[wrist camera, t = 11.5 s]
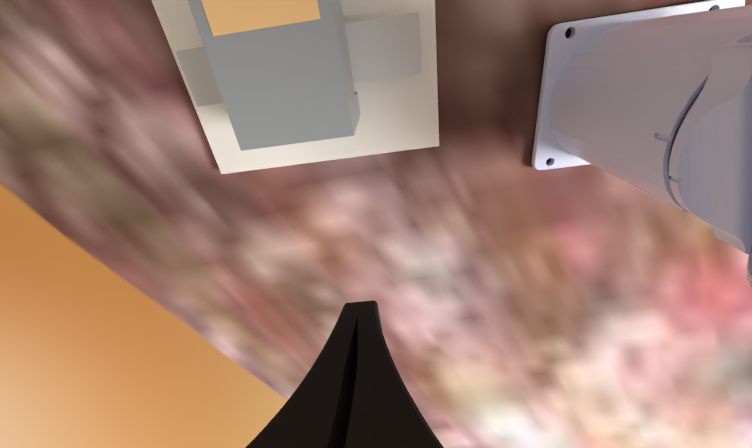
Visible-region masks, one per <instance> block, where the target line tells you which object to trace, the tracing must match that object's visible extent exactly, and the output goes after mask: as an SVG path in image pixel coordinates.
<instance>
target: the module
mask: <svg viewBox="0 0 752 448" xmlns="http://www.w3.org/2000/svg"><path fill="white" fill-rule="evenodd" d="M187 1H188V3H189V6H190V9H191V12H192V15H193V17H194V20H195V23H196V26H197V29H198V32H199V34H200V37H201V40H202V43H203V46H204V48H205V51H206V54H207V57H208V60H209V62H210V65H211V68H212V71H213V74H214V77H215V79H216V82H217V85H218V88H219V91H220V93H221V96H222V99H223V102H224V105H225V107H226V110H227V113H228V116H229V119H230V122H231V124H232V127H233V130H234V133H235V136H236V138H237V141H238V144H239V147H240V150H241V151H244V150H251V149H258V148H266V147H273V146H281V145H288V144H296V143H303V142H311V141H318V140H326V139H333V138H341V137H348V136H354V134H355V131H356V128H357V124H358V121H359V118H360V114H361V113H360V106H359V100H358V93H357V92H355V91H354V84H353V78H352V71H351V65H350V58H349V52H348V45H347V39H346V32H345V26H344V19H343V13H342V6H341V0H187Z"/></svg>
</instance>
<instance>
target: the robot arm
mask: <svg viewBox="0 0 752 448" xmlns="http://www.w3.org/2000/svg"><path fill="white" fill-rule="evenodd" d="M710 8H712V10H710V11H709V9H710ZM568 28H570V29H571V35H570V36H569V37H568V38H566V37H565V32H566V30H567V29H568ZM549 158H551V162H550V163H548V164H546V161H547V160H548V159H549ZM588 164H593V165H595V166H597V167H599V168H601V169H602V170H604V171H606V172H608V173H610V174H612V175H614V176H616V177H618V178H620V179H622V180H624V181H626V182H628V183H630V184H632V185H634V186H636V187H638V188H640V189H642V190H644V191H646V192H648V193H650V194H652V195H654V196H656V197H658V198H660V199H662V200H664V201H666V202H668V203H670V204H672V205H674V206H676V207H678V208H680V209H682V210H684V211H686V212H688V213H690V214H692V215H694V216H696V217H698V218H699V219H701V220H703V221H705V222H707V223H709V224H710V225H711V227H712V228H713V231H714V236H715V237H716V238H718V239H720V240H722V241H724V242H726V243H728V244H730V245H731V246H733V247H735V248H737V249H739V250H741V251H743V252H744V253H746V254H749V257H748V263H747V277H748V281H749V283H750V285H751V287H752V5H747V6H745V0H708V1H702V2H695V3H689V4H682V5H676V6H669V7H663V8H656V9H650V10H643V11H637V12H630V13H624V14H617V15H611V16H604V17H598V18H591V19H585V20H578V21H572V22H565V23H559V24H556V25H554V26H553V27H552V28H551V29H550V30H549V32H548V36H547V43H546V51H545V59H544V67H543V75H542V83H541V91H540V99H539V107H538V115H537V123H536V131H535V139H534V147H533V155H532V166H533V167H534V168H535V169H537V170H546V169H555V168H563V167H571V166H580V165H588ZM246 448H444V447H443V446H442V445H441V443H440V442H439V440H438V439H437V437H436V436H435V434H434V433H433V432H432V430H431V429H430V427H429V425H428V424H427V422H426V421H425V419H424V418H423V416H422V415H421V413H420V411H419V409H418V408H417V406H416V404H415V403H414V401H413V399H412V397H411V396H410V394H409V392H408V390H407V389H406V387H405V385H404V383H403V381H402V379H401V377H400V375H399V373H398V371H397V369H396V367H395V364H394V362H393V360H392V357H391V355H390V353H389V350H388V348H387V345H386V342H385V339H384V336H383V333H382V328H381V322H380V316H379V311H378V305H377V302H376V301H365V302H354V303H346V304H345V305H344V307H343V309H342V312H341V314H340V316H339V319H338V321H337V323H336V325H335V327H334V329H333V331H332V333H331V335H330V337H329V339H328V341H327V342H326V344H325V346H324V348H323V350H322V351H321V353H320V355H319V356H318V358H317V360H316V361H315V363H314V365H313V366H312V368H311V369H310V371H309V372H308V374H307V375H306V377H305V378H304V380H303V381H302V382H301V384H300V385H299V387H298V388H297V389H296V391H295V392H294V393H293V394H292V396H291V397H290V398H289V400H288V401H287V402H286V403H285V405H284V406H283V407H282V408H281V410H280V411H279V412H278V413H277V414H276V415H275V417H274V418H273V419H272V420H271V421H270V422H269V423H268V425H267V426H266V427H265V428H264V429H263V430H262V431H261V432H260V433H259V434H258V435H257V437H256V438H255V439H254V440H253V441H252V442H251V443H250V444H249V445H248V446H247V447H246Z"/></svg>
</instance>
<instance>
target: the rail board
mask: <svg viewBox="0 0 752 448" xmlns="http://www.w3.org/2000/svg"><path fill="white" fill-rule="evenodd" d="M151 1H152V3H153V6H154V8H155V10H156V13H157V15H158V18H159V20H160V23H161V25H162V28H163V30H164V33H165V35H166V38H167V40H168V43H169V45H170V48H171V50H172V53H173V55H174V58H175V60H176V63H177V65H178V67H179V70H180V72H181V75H182V77H183V80H184V82H185V85H186V87H187V90H188V92H189V95H190V97H191V100H192V102H193V105H194V107H195V110H196V112H197V115H198V117H199V120H200V122H201V124H202V127H203V129H204V132H205V134H206V137H207V139H208V142H209V144H210V147H211V149H212V152H213V154H214V157H215V159H216V162H217V164H218V167H219V169H220V172H221V174H227V173H234V172H242V171H250V170H258V169H265V168H273V167H281V166H288V165H296V164H304V163H312V162H319V161H327V160H335V159H343V158H350V157H358V156H366V155H373V154H381V153H389V152H397V151H404V150H412V149H420V148H428V147H435V146H439V121H438V87H437V54H436V20H435V0H341V6H342V13H343V19H344V26H345V32H346V39H347V45H348V52H349V58H350V65H351V71H352V78H353V84H354V91H355V92H357V93H358V100H359V106H360V113H361V114H360V118H359V121H358V124H357V128H356V131H355V134H354V136H348V137H341V138H333V139H326V140H318V141H311V142H303V143H296V144H288V145H281V146H273V147H266V148H258V149H251V150H244V151H241V150H240V147H239V144H238V141H237V138H236V136H235V133H234V130H233V127H232V124H231V122H230V119H229V116H228V113H227V110H226V107H225V105H224V102H223V99H222V96H221V93H220V91H219V88H218V85H217V82H216V79H215V77H214V74H213V71H212V68H211V65H210V62H209V60H208V57H207V54H206V51H205V48H204V46H203V43H202V40H201V37H200V34H199V32H198V29H197V26H196V23H195V20H194V17H193V15H192V12H191V9H190V6H189V3H188V1H187V0H151Z"/></svg>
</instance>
